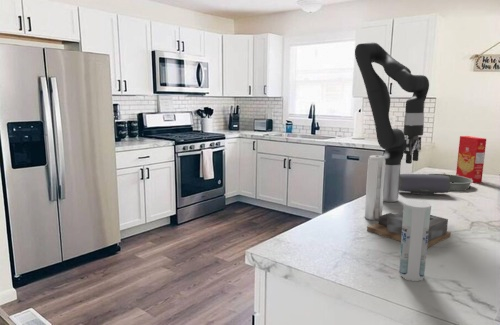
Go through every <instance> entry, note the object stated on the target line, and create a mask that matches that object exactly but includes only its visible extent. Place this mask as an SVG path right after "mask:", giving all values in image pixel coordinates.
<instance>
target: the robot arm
mask: <svg viewBox="0 0 500 325" xmlns="http://www.w3.org/2000/svg"><path fill="white" fill-rule="evenodd" d="M354 57H355V60H356V64H357V66H358V69H359V72H360V73H361V78H362V80H363V83H364V87H365V90H366V95H367V98H368V99H367V100H368V103H369V105H370V108H371V109H370V110H371V113H372V117H373V121H374V125H375V126H374V127H375V133H376V140H377V143H378V145H379V147H380V148H381V149H383V150H384V152H383V154H382V155H381V156H384V157H385V159H386V163H385V178H384V193H383V202H389V203H394V202H398V201H399V195H400V194H399V192H400V191H399V181H400V174H401V164H402V160H403V157H404V155H405V163H406V164H412V162H418V161H419V153H420V152H421V150H422V136H423V135H424V128H425V127H424V126H425V124H424V123H425V115H424V114H425V113H424V112H425V101H426V100H427V95H428V93H429V90H430V89H429V88H430V81H429V78H428V77H427V76H426V75H424V74H423V75H422V74H418V75H417V74H412V72H411V71H412V70H410V68H409V67H407V66H406V65H404V64H403V63H401V62H399V61H397V60H396V59H395V58H394V57H393V56H391V54H389V53H388V51H387V50H385V49H384V48H383V47H382V46H381V45H380V44H379V43H377V42H374V41H373V42H360V43H358V44H357V45H356V46H355V49H354ZM372 63H375V64H378V65H379V66H380V65H381V67H382V68H383V69H384V73H385V74H386V75H387V76H388V78H390V79H392V80H394V81H395V82H396V84H398V85H399V87H400V88H401V89H402V90H404V91H405V92H407V93H412V96H411V98H408V99H407V100H406V102H405V110H404V112H405V113H404V122H403V131H402V130H401V129H399V128H392V124H391V120H390V108H391V107H390V106H391V96H390V95H391V94H390V93H389V92H390V91H389V89H388V86H387V83H386V82H385V81H384V80H383V79H382V78H381V76H379V74H378V73H377V72H376V70H375V68H374V66H373V64H372ZM405 136H407V138H406V137H405Z"/></svg>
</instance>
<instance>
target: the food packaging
mask: <svg viewBox="0 0 500 325" xmlns="http://www.w3.org/2000/svg"><path fill="white" fill-rule="evenodd" d="M486 145H487V138H485V137H484V138H483V137H476V136H469V135H460V136H459V143H458V153H457V161H456V162H457V163H456V170H455V172H456V173H455V175H457V176H462V177H466V178H469V179H471V180H473V182H472V183H473V184H475V183H480V184H481V183H482V180H483V174H484V173H483V172H484V164H485V155H486V154H485V153H486V147H487V146H486ZM472 183H471V184H472Z"/></svg>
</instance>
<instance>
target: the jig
mask: <svg viewBox="0 0 500 325" xmlns="http://www.w3.org/2000/svg"><path fill="white" fill-rule="evenodd" d="M402 222H403V211H401V212H398V213H393V212H388V213H386V214H382V215H381V216H379V220H378V222H377V223H374V224H373V223H372V224H370V225H368V226H367V227H366V231H367V232H371V233H373V234H377V235H380V236H383V237H384V238H385V237H386V238H388V239H391V240H395V241H398V242H401V237H402ZM448 223H449V219H448V218H445V217H441V216H436V215H433V214H430V223H429V233H428V243H427V248H429V247H432V246H433V245H435V244H438V243H439V242H441V241H444V240H447V239H448V238H450V237H451V236H452V235H451V234H452V233H451V232H450V231H448Z"/></svg>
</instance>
